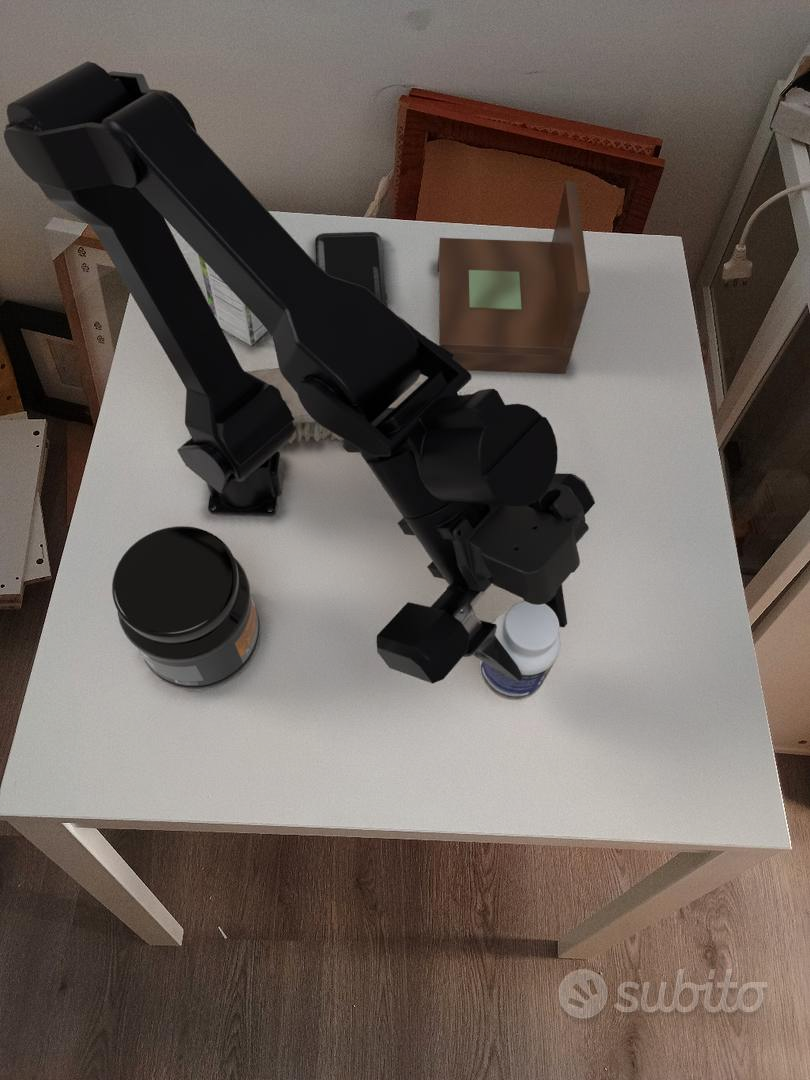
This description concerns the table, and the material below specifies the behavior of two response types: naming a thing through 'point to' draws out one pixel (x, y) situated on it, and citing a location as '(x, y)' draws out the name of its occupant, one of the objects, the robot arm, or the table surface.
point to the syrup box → (230, 308)
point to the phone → (353, 259)
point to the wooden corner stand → (515, 297)
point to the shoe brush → (301, 418)
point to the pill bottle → (524, 649)
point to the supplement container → (186, 607)
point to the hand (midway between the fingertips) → (539, 652)
